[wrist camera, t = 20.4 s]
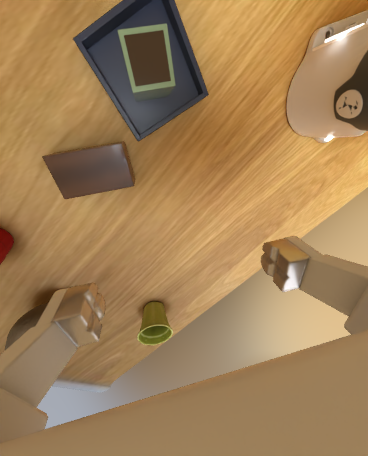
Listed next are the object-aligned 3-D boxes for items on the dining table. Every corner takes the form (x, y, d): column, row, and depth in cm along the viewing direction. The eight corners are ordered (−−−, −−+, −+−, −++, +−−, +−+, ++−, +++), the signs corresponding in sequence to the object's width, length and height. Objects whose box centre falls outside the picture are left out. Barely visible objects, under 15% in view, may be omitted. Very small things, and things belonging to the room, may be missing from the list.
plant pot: (172, 311, 57) (176, 338, 50) (144, 320, 57) (144, 349, 49) (164, 293, 52) (167, 320, 45) (133, 303, 52) (131, 332, 44)
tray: (161, -13, 23) (163, -32, 20) (203, 97, 30) (208, 94, 27) (80, 48, 24) (72, 38, 22) (138, 140, 31) (138, 141, 29)
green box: (176, 127, 27) (175, 47, 17) (143, 134, 27) (123, 55, 17) (162, 80, 29) (154, -14, 20) (132, 85, 29) (108, -9, 19)
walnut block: (135, 180, 35) (134, 186, 31) (73, 191, 33) (64, 199, 30) (124, 141, 31) (121, 143, 27) (54, 153, 30) (41, 156, 26)
